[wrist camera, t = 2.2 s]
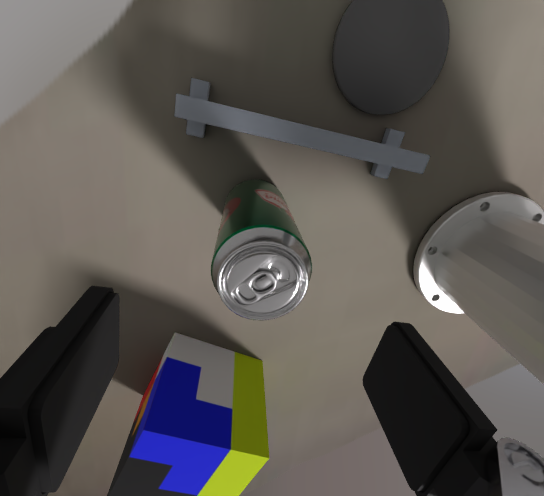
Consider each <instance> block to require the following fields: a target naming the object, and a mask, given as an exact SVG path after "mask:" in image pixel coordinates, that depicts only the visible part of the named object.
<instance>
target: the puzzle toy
mask: <svg viewBox="0 0 544 496" xmlns="http://www.w3.org/2000/svg"><path fill="white" fill-rule="evenodd" d="M268 459H269V448H268V433H267V419H266V405H265V391H264V377H263V363H262V361H261V360H258V359H255V358H252V357H249V356H246V355H243V354H240V353H237V352H234V351H231V350H228V349H225V348H222V347H218V346H215V345H212V344H209V343H206V342H203V341H200V340H197V339H194V338H191V337H188V336H185V335H182V334H179V333H176V332H175V333H174V335H173V337H172V339H171V341H170V343H169V345H168V347H167V349H166V351H165V353H164V355H163V357H162V359H161V361H160V363H159V365H158V367H157V369H156V371H155V373H154V375H153V377H152V379H151V381H150V383H149V385H148V387H147V389H146V391H145V393H144V395H143V398H142V400H141V403H140V406H139V409H138V411H137V414H136V417H135V420H134V423H133V425H132V428H131V431H130V434H129V436H128V439H127V442H126V445H125V448H124V450H123V453H122V456H121V459H120V461H119V464H118V467H117V470H116V472H115V475H114V478H113V481H112V484H111V486H110V489H109V492H108V495H107V496H239V494H240V493H241V492H242V491H243V490H244V488H245V487H246V486H247V485H248V484H249V482H250V481H251V480H252V479H253V477H254V476H255V475H256V474H257V473H258V471H259V470H260V469H261V468H262V467H263V465H264V464H265V463H266V462H267V460H268Z"/></svg>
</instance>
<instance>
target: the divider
mask: <svg viewBox="0 0 544 496" xmlns="http://www.w3.org/2000/svg"><path fill="white" fill-rule="evenodd" d="M210 85H211V83H210V82H207V81H203V80H199V79H195V78H191V86H190V97H189V96H185V95H181V94H177V93H176V103H175V116H174V117H178V118H183V119H187V130H186V134H188V135H192V136H197V137H201V138H204V136H205V128H206V124H209V125H213V126H217V127H222V128H226V129H230V130H234V131H239V132H243V133H247V134H252V135H256V136H260V137H265V138H269V139H273V140H278V141H282V142H286V143H291V144H295V145H299V146H304V147H308V148H312V149H317V150H321V151H325V152H330V153H334V154H338V155H342V156H347V157H351V158H355V159H360V160H364V161H368V162H373V163H374V164H373V167H372V170H371V173H370V174H371V175H373V176H376V177H381V178H385V179H388V176H389V174H390V171H391V168H392V167H394V168H399V169H403V170H407V171H412V172H416V173H420V174H423V172H424V170H425V168H426V165H427V163H428V161H429V158H430V155H426V154H422V153H418V152H414V151H410V150H406V149H402V148H399V147H400V145H401V142H402V140H403V137H404V134H405V132H402V131H398V130H394V129H388V128H386V131H385V133H384V136H383V139H382V142H381V143H377V142H373V141H369V140H365V139H361V138H357V137H353V136H348V135H344V134H340V133H336V132H332V131H328V130H324V129H320V128H316V127H312V126H308V125H304V124H299V123H295V122H291V121H287V120H283V119H279V118H275V117H271V116H267V115H263V114H259V113H255V112H251V111H246V110H242V109H238V108H234V107H230V106H226V105H222V104H218V103H214V102H210V101H209V94H210Z"/></svg>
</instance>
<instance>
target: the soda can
mask: <svg viewBox="0 0 544 496" xmlns="http://www.w3.org/2000/svg"><path fill="white" fill-rule="evenodd" d="M311 273H312V263H311V257H310V254H309V252H308V249H307V247H306V245H305V243H304V241H303V239H302V237H301V234H300V232H299V230H298V228H297V226H296V224H295V221H294V219H293V217H292V215H291V213H290V211H289V209H288V206H287V204H286V202H285V200H284V198H283V196H282V194H281V193H280V191H279V190H278V189H277V188H276V187H275V186H274V185H272V184H271V183H268V182H266V181H263V180H247V181H244V182H242V183H240V184H238V185H237V186H235V187H234V188H233V189H232V190H231V191H230V193H229V194H228V196H227V198H226V201H225V206H224V210H223V215H222V219H221V224H220V228H219V233H218V237H217V242H216V246H215V251H214V255H213V259H212V264H211V276H212V281H213V284H214V287H215V288H216V290H217V292H218V293H219V295H220V297H221V299H222V301H223V302H224V304H225V305H226V306H227V307H228V308H229V309H230V310H231V311H233V312H234V313H236V314H237V315H239V316H242V317H244V318H247V319H252V320H270V319H275V318H278V317H281V316H283V315H285V314H287V313H289V312H290V311H292V310H293V309H294V308H295V307H296V306H298V304H299V303H300V302H301V301H302V299H303V297H304V296H305V294H306V291H307V288H308V283H309V281H310V278H311Z"/></svg>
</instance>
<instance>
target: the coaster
mask: <svg viewBox="0 0 544 496" xmlns="http://www.w3.org/2000/svg"><path fill="white" fill-rule="evenodd" d="M448 44H449V20H448V15H447V11H446V8H445V5H444V3H443V1H442V0H353V1H352V3H351V4H350V5H349V7H348V8H347V9H346V11H345V13H344V15H343V17H342V18H341V21H340V23H339V25H338V28H337V31H336V34H335V39H334V44H333V53H332V59H333V70H334V75H335V79H336V81H337V84H338V87H339V88H340V90H341V92H342V94H343V95H344V97H345V98H346V99H347V100H348V101H349V102H350V103H351V104H352V105H353V106H355V107H356V108H358V109H359V110H361V111H364V112H367V113H371V114H392V113H396V112H399V111H402V110H404V109H406V108H408V107H410V106H411V105H413V104H414V103H416V102H417V101H418V100H419V99H420V98H422V97H423V96H424V95H425V94H426V92H427V91H428V90H429V89H430V88H431V86H432V85H433V84H434V82H435V80H436V79H437V77H438V75H439V73H440V71H441V69H442V67H443V64H444V61H445V58H446V55H447V50H448Z"/></svg>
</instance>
